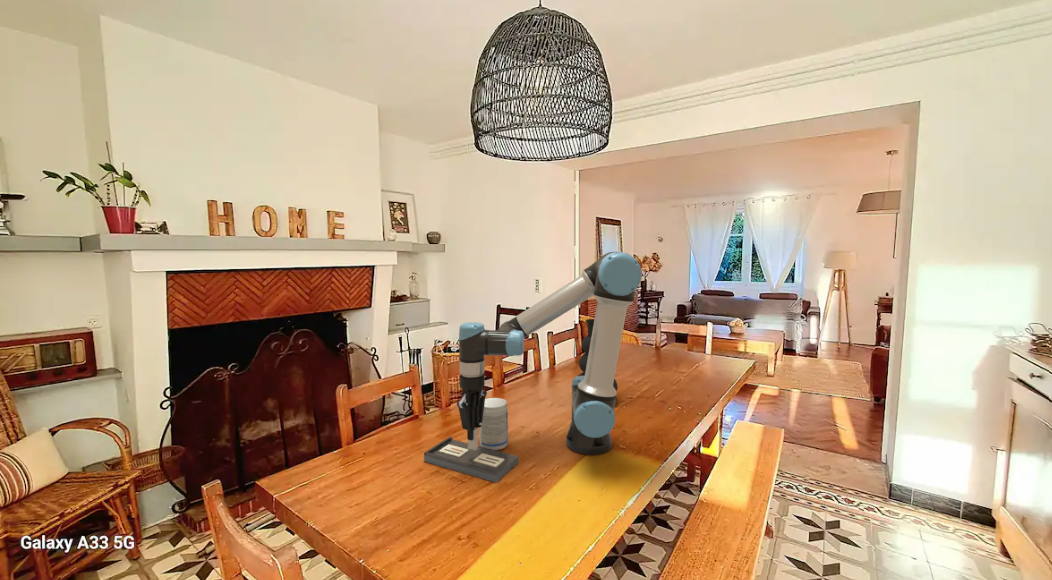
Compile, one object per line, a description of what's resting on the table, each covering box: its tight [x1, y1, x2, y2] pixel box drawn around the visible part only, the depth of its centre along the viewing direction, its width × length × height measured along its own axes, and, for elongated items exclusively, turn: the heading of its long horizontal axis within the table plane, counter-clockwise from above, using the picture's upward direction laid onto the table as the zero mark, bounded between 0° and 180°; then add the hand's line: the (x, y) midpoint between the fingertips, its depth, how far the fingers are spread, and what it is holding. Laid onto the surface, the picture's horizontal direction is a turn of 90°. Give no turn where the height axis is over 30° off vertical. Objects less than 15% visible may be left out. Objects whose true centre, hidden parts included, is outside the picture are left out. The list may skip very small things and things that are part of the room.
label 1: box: [439, 444, 469, 457], centre depth 136 cm, size 8×5×1 cm, turn 62°
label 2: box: [473, 453, 505, 467], centre depth 130 cm, size 8×5×1 cm, turn 62°
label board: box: [423, 436, 519, 484], centre depth 134 cm, size 26×13×3 cm, turn 62°
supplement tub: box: [478, 397, 509, 451], centre depth 144 cm, size 10×10×15 cm
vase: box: [577, 318, 618, 392], centre depth 183 cm, size 18×18×35 cm
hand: (472, 448), depth 134 cm, fingers closed
